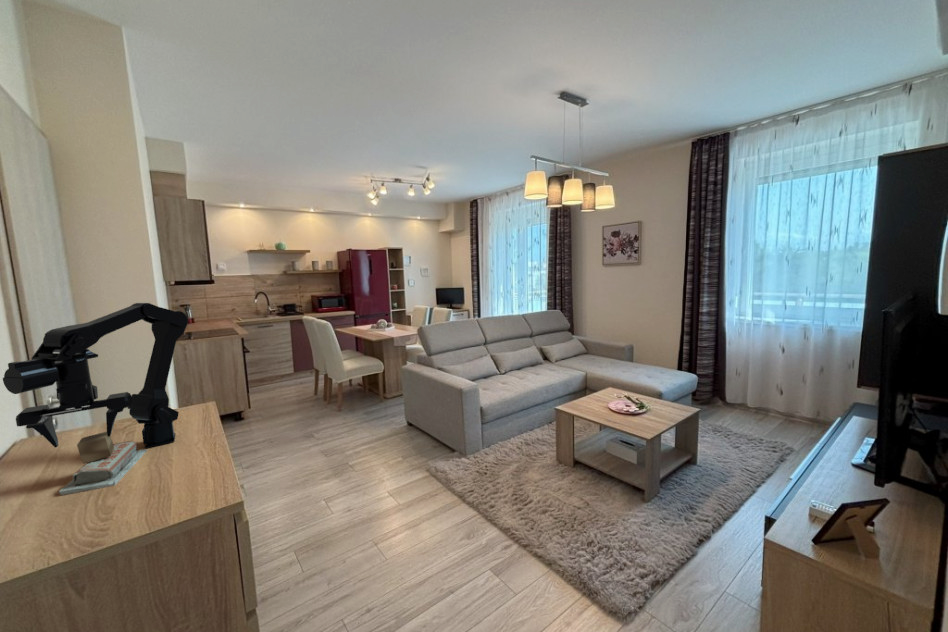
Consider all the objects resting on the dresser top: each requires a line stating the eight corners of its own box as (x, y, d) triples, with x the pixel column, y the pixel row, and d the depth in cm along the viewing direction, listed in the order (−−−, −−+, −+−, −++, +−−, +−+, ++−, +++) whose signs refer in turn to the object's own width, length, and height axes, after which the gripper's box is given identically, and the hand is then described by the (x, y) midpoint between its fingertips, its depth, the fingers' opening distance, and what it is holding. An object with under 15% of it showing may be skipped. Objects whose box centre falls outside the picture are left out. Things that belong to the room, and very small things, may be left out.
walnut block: (114, 448, 97) (109, 430, 96) (110, 455, 93) (105, 437, 92) (87, 456, 94) (82, 437, 93) (82, 464, 90) (76, 445, 89)
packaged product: (98, 443, 101) (144, 436, 104) (101, 460, 101) (147, 453, 105) (55, 478, 84) (112, 468, 88) (59, 498, 85) (115, 487, 89)
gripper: (130, 366, 102) (138, 420, 104) (27, 379, 91) (38, 440, 93) (123, 375, 93) (132, 435, 95) (9, 391, 82) (21, 458, 84)
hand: (83, 441), depth 92 cm, fingers open, 9 cm apart
